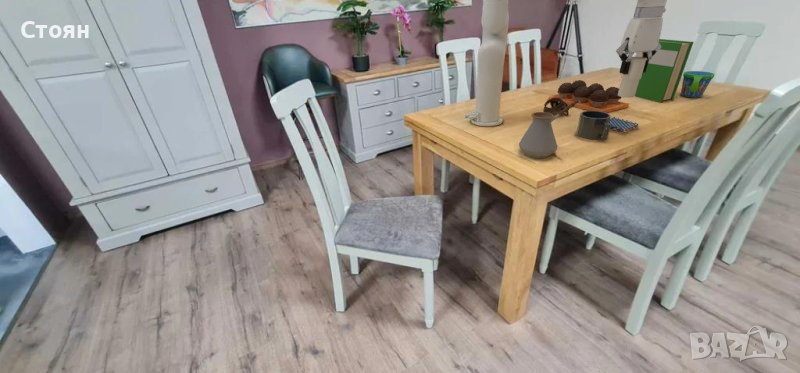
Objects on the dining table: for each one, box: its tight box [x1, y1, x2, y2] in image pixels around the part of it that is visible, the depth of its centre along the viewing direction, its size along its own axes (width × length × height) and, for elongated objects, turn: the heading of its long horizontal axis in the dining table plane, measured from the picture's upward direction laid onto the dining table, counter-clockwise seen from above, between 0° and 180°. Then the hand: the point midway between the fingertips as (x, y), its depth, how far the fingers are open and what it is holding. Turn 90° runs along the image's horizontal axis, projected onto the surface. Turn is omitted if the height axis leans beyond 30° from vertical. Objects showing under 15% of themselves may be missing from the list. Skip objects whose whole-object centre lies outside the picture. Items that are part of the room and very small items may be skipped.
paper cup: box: [618, 56, 647, 99], centre depth 114 cm, size 6×6×13 cm
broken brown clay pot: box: [542, 97, 570, 116], centre depth 139 cm, size 12×10×8 cm
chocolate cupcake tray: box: [548, 79, 630, 113], centre depth 149 cm, size 28×17×8 cm, turn 25°
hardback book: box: [634, 38, 694, 103], centre depth 148 cm, size 18×7×24 cm, turn 20°
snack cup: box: [680, 70, 716, 99], centre depth 149 cm, size 16×10×10 cm
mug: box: [575, 110, 612, 141], centre depth 114 cm, size 12×9×8 cm
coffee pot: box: [518, 100, 581, 159], centre depth 106 cm, size 21×12×15 cm, turn 117°
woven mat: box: [609, 116, 640, 134], centre depth 123 cm, size 10×11×2 cm
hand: (632, 72), depth 114 cm, fingers closed on paper cup, 5 cm apart
